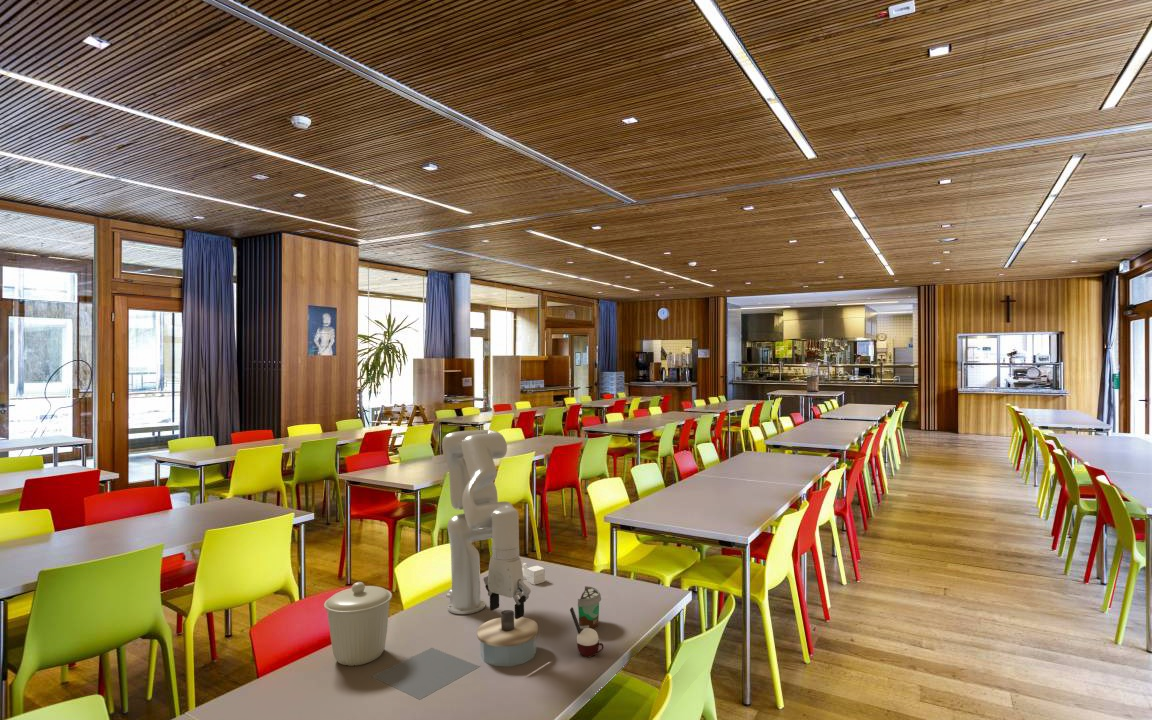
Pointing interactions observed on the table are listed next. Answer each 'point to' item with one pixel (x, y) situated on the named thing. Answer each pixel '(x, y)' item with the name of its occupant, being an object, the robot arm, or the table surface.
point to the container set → (533, 574)
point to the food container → (589, 608)
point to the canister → (358, 623)
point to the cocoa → (586, 639)
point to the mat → (425, 672)
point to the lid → (507, 630)
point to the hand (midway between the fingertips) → (506, 613)
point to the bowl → (508, 653)
